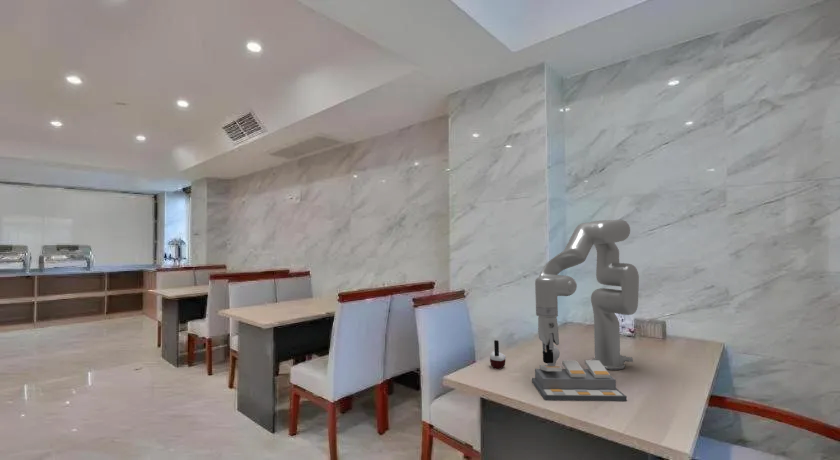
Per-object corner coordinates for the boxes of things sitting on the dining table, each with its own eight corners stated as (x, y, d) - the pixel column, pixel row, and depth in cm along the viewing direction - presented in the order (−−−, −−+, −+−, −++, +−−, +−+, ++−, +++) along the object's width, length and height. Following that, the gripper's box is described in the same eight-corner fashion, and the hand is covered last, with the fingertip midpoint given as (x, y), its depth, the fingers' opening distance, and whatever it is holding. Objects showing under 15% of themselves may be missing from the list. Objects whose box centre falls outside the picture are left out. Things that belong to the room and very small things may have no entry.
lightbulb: (559, 371, 151) (559, 343, 151) (560, 376, 145) (559, 347, 145) (543, 369, 153) (542, 341, 153) (542, 374, 147) (542, 346, 147)
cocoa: (495, 364, 161) (495, 335, 162) (509, 366, 157) (508, 337, 158) (484, 369, 154) (484, 338, 155) (499, 372, 150) (498, 340, 151)
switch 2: (576, 363, 138) (576, 360, 137) (585, 377, 129) (586, 373, 129) (562, 363, 138) (562, 359, 138) (570, 377, 129) (571, 373, 129)
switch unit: (604, 382, 138) (604, 368, 139) (626, 401, 122) (626, 385, 123) (532, 382, 139) (531, 368, 140) (544, 400, 123) (544, 384, 124)
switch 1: (553, 368, 138) (553, 364, 138) (561, 371, 129) (561, 366, 130) (539, 368, 138) (539, 364, 138) (546, 371, 129) (546, 366, 130)
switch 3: (598, 363, 137) (599, 359, 137) (609, 378, 129) (610, 374, 128) (584, 363, 138) (584, 359, 137) (594, 378, 129) (595, 374, 128)
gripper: (564, 315, 130) (565, 369, 130) (551, 307, 145) (552, 355, 145) (542, 315, 131) (543, 369, 130) (531, 307, 146) (532, 356, 145)
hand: (548, 362), depth 138 cm, fingers closed
